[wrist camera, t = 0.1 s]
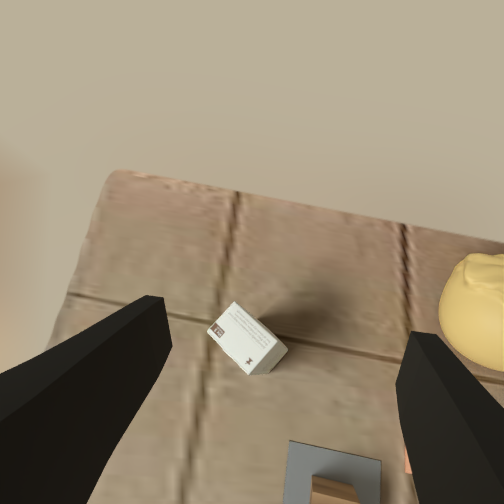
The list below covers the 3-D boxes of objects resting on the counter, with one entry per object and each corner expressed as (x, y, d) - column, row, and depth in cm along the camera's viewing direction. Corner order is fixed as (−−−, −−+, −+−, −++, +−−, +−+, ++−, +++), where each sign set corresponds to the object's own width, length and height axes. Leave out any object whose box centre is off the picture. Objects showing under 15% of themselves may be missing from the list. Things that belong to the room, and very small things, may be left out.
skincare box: (289, 348, 39) (283, 340, 28) (266, 376, 39) (250, 378, 27) (255, 316, 41) (236, 296, 30) (232, 342, 41) (204, 331, 30)
